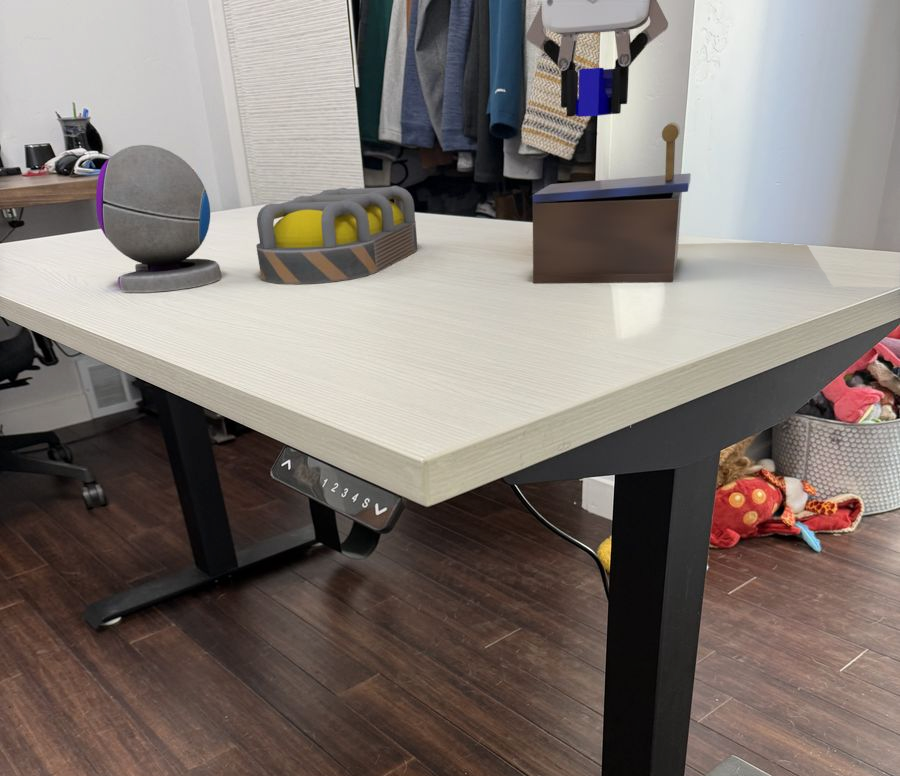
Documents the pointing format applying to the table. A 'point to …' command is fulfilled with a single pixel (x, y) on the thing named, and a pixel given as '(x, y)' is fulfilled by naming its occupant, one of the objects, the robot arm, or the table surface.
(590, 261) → the chest
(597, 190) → the lid
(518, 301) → the table surface
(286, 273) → the cage light
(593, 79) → the cable holder
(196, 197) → the grey ball on stand
